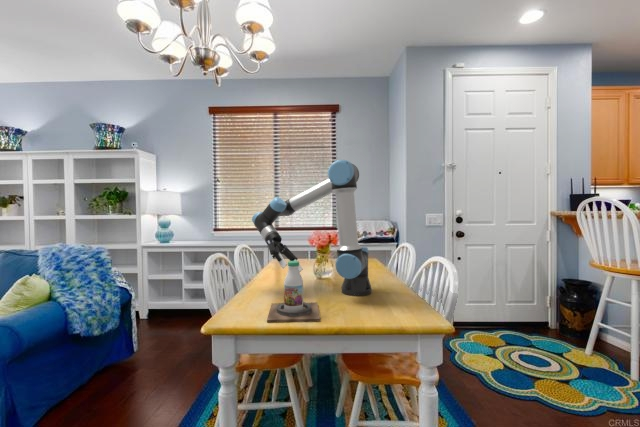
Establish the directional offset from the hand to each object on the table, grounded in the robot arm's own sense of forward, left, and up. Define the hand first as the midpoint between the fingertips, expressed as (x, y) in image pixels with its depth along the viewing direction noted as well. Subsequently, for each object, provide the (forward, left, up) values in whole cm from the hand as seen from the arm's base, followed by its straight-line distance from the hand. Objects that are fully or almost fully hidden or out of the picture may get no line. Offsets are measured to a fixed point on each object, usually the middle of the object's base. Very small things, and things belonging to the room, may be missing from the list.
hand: (293, 268), depth 144 cm
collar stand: (-1, +16, -15) cm, 22 cm away
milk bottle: (-1, +16, -14) cm, 21 cm away
